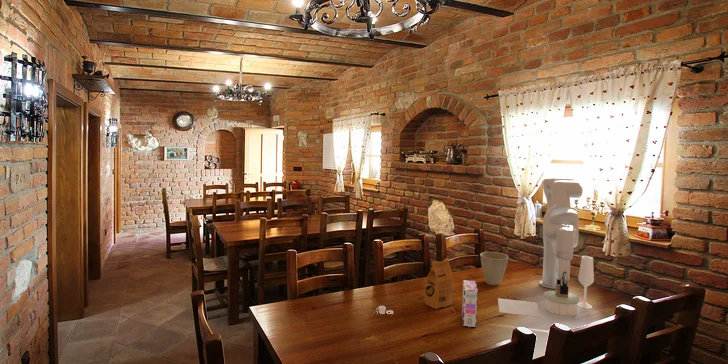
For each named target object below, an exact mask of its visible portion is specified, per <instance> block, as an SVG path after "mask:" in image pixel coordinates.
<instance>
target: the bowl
mask: <svg viewBox="0 0 728 364" xmlns="http://www.w3.org/2000/svg"><path fill="white" fill-rule="evenodd" d="M577 304H578V303H577ZM577 304H560V303H556V302H552V301H550V300H548V299H546V298H545V309H546V310H547V311H549V312H550V313H553V314H556V315H562V316H571V317H574V316H576V315H578V306H577Z"/></svg>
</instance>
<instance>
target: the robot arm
mask: <svg viewBox="0 0 728 364" xmlns="http://www.w3.org/2000/svg"><path fill="white" fill-rule="evenodd" d="M542 189H543V192H544V196H545V199H546V212H545V213H544V216H543V219H542V232H543V233H542V241H543V263H542V279H541V280H539V282H538V283H539V285H540V286H541V287H544V288H547V289H554V290H556V284H559V285H560V294H565V295H567V294H568V293H569V290H568V287H569V280H570V276H571V260H573V258H574V248H576V247H577V246H578V244H579V228H580V221H579V220H580V218H579V213H578V212H577V211H576V210H574V209H571V207H572V206H571V198H573V199H574V198H575V199H576V198H577V199H579V198H581V197H582V195H583V185H582V183H581V181H580V180H579V178H577V177H564V176H559V177H558V176H550V177H546V178H544V179H543V180H542Z"/></svg>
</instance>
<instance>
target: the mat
mask: <svg viewBox="0 0 728 364" xmlns="http://www.w3.org/2000/svg"><path fill="white" fill-rule="evenodd" d="M497 303H498V313H503V314H510V315H520V316H530V317H536V318H537V317H539V318H541V317H542V316H541V315H542V314H541V312H540V309H539V305H538V303H537V302H535V301H526V300H516V299H509V298H499V297H498V298H497Z"/></svg>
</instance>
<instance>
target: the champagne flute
mask: <svg viewBox="0 0 728 364" xmlns="http://www.w3.org/2000/svg"><path fill="white" fill-rule="evenodd" d="M579 265H580V266H579V270H578V271H579V273H578V278H577V280H578V282H579V284H581V285H582V286H583V299H582V302H579V303H577V307H578V308H582V309H592V308H593V306H592V305H591V304H589V303H588V302H587V289H588V287H589V286H591V285H592V284H593V283H594V281H595V278H594V277H595V275H594V274H595V273H594V257H593V256H588V255H582V256H581V259H580V264H579Z"/></svg>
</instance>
